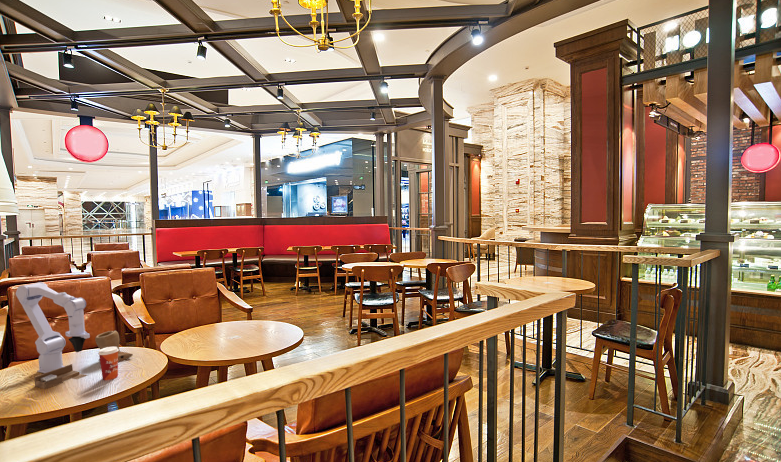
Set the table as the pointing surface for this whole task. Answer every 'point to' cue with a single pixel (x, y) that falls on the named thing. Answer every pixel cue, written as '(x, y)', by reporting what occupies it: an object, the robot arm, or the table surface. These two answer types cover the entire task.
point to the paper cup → (109, 362)
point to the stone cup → (111, 343)
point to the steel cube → (48, 378)
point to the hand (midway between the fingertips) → (78, 351)
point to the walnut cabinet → (61, 375)
